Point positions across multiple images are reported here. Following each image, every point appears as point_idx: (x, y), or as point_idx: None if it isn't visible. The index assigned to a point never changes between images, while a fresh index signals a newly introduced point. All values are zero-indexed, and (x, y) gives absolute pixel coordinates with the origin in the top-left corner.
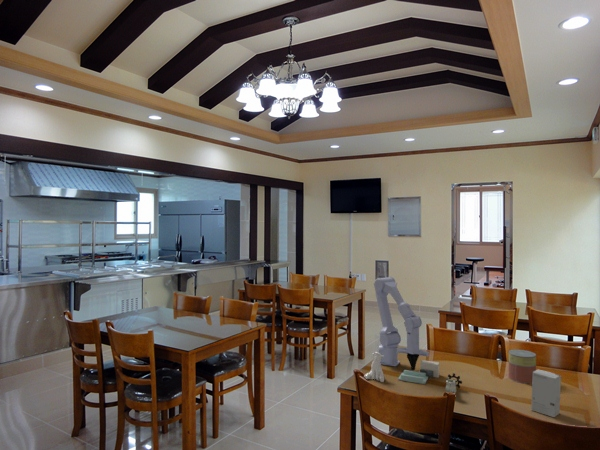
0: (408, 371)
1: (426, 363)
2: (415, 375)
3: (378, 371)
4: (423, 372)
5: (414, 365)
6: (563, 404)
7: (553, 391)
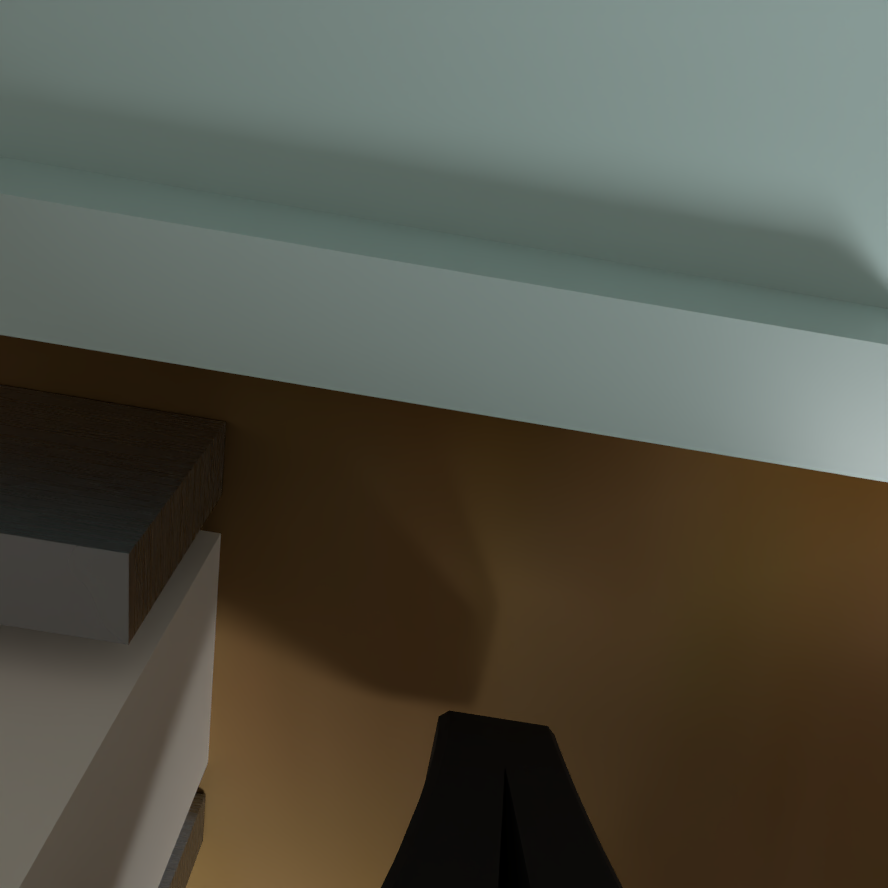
0: (730, 312)
1: None
2: (367, 225)
3: None
4: (4, 465)
5: (413, 852)
6: None
7: None
